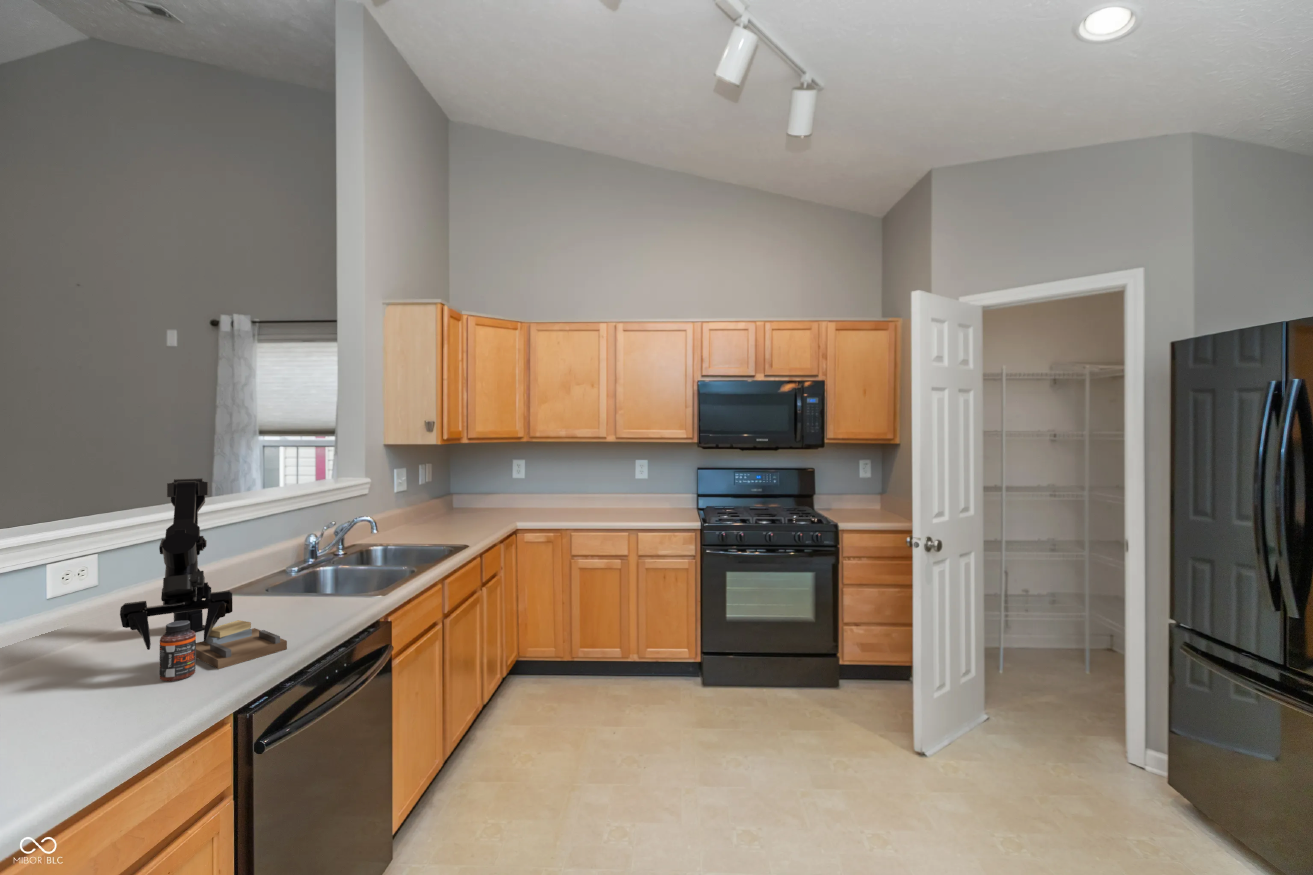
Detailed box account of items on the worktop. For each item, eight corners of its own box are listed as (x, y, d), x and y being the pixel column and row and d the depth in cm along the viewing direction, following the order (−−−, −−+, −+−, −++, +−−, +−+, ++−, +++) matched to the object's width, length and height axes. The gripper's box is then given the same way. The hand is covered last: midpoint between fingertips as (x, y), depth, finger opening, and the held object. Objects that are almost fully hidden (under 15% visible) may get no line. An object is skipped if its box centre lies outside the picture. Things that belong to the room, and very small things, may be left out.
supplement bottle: (175, 683, 121) (175, 628, 121) (151, 681, 122) (151, 626, 122) (203, 672, 127) (202, 619, 127) (180, 669, 128) (180, 617, 128)
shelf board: (187, 653, 137) (187, 632, 137) (254, 635, 149) (254, 616, 149) (218, 669, 128) (218, 646, 128) (286, 649, 140) (286, 628, 140)
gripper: (120, 564, 122) (112, 633, 114) (232, 554, 133) (232, 615, 124) (126, 594, 129) (119, 661, 120) (232, 581, 140) (232, 642, 131)
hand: (177, 643), depth 124 cm, fingers open, 9 cm apart
